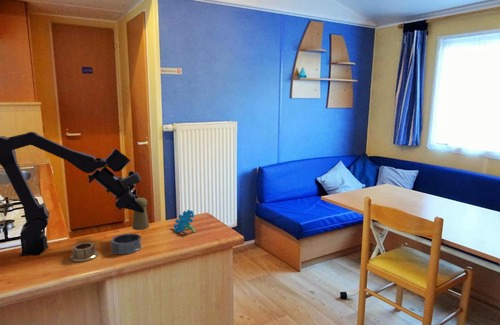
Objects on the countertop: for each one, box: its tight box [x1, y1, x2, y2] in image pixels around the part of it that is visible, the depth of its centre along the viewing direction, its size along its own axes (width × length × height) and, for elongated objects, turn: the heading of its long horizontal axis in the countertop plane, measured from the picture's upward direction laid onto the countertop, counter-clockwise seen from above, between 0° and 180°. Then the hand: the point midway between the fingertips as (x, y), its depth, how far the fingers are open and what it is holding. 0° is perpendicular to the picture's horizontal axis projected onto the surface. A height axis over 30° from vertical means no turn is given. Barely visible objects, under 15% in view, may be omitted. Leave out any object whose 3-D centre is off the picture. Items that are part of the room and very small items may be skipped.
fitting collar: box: [110, 232, 142, 256], centre depth 119 cm, size 10×10×4 cm
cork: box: [131, 197, 150, 231], centre depth 129 cm, size 6×6×11 cm
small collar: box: [70, 241, 99, 263], centre depth 112 cm, size 8×8×4 cm
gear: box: [173, 209, 196, 233], centre depth 136 cm, size 11×6×10 cm
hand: (144, 209), depth 129 cm, fingers closed on cork, 5 cm apart
